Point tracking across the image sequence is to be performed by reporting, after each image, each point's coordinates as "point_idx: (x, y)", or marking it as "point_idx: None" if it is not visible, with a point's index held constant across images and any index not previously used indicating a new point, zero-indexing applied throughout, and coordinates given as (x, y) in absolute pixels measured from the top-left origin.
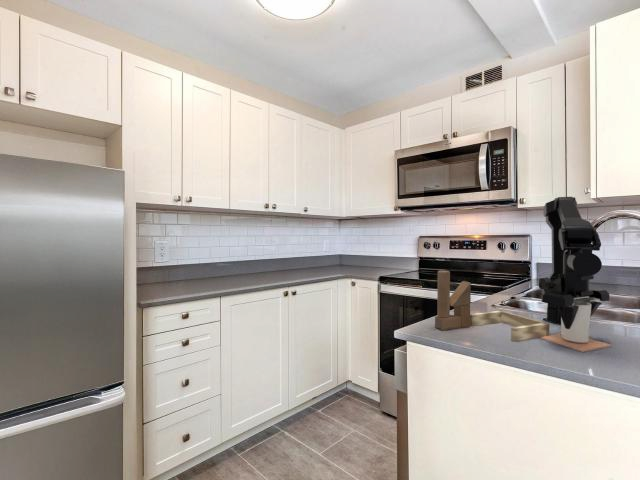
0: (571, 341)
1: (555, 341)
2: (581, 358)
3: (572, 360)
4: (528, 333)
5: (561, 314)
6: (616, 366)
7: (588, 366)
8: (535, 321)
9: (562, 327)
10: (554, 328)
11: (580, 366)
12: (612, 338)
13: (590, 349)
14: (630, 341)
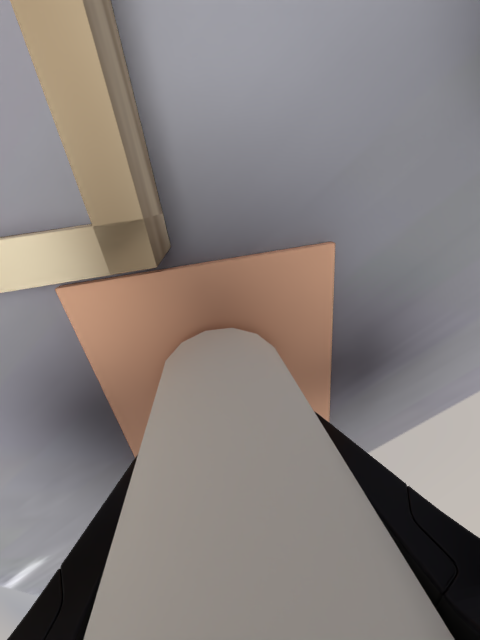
0: None
1: (97, 374)
2: (80, 508)
3: (25, 521)
4: None
5: (36, 620)
6: None
7: (49, 551)
8: (54, 114)
9: (149, 416)
10: (382, 81)
11: (18, 552)
12: (453, 351)
13: None
14: (465, 390)
